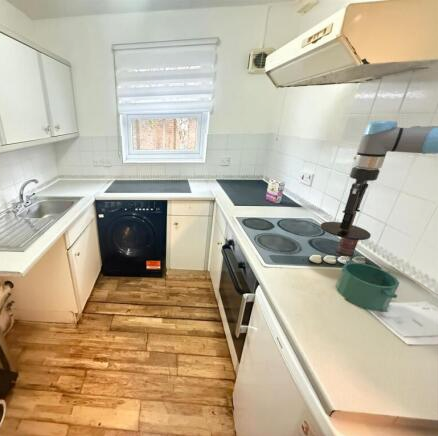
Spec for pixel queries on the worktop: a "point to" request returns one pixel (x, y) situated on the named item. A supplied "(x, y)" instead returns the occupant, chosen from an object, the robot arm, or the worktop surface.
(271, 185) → the candy bar box
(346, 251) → the can
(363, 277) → the pot
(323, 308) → the worktop surface
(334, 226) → the lid
